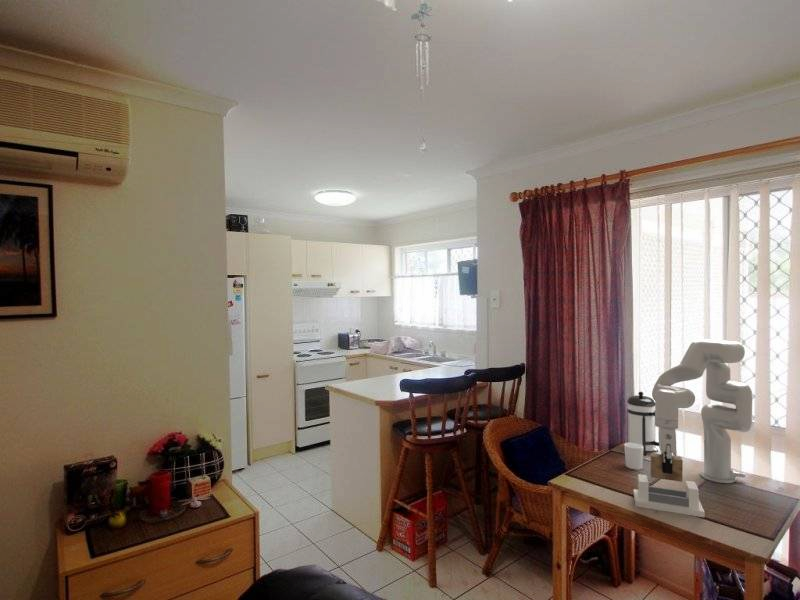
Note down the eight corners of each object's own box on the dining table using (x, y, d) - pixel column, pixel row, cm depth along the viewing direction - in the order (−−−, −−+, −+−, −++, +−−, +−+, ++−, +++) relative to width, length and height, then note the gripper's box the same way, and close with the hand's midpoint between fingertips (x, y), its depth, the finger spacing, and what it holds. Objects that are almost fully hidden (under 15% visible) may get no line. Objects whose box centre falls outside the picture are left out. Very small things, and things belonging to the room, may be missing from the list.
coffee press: (626, 454, 221) (626, 394, 220) (623, 444, 236) (623, 387, 235) (666, 458, 215) (666, 396, 214) (660, 447, 230) (660, 389, 229)
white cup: (620, 465, 208) (620, 444, 208) (632, 462, 211) (632, 441, 211) (635, 471, 201) (635, 449, 200) (647, 468, 204) (647, 446, 204)
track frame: (698, 503, 170) (698, 480, 170) (704, 517, 160) (704, 492, 160) (633, 493, 179) (633, 471, 179) (635, 506, 169) (635, 482, 169)
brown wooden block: (680, 477, 169) (680, 456, 169) (682, 481, 165) (682, 460, 165) (650, 473, 173) (650, 453, 173) (651, 477, 169) (651, 456, 169)
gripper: (681, 430, 160) (681, 480, 160) (674, 418, 175) (674, 464, 175) (657, 427, 163) (657, 477, 163) (652, 416, 178) (652, 461, 178)
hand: (666, 470), depth 169 cm, fingers closed on brown wooden block, 4 cm apart
